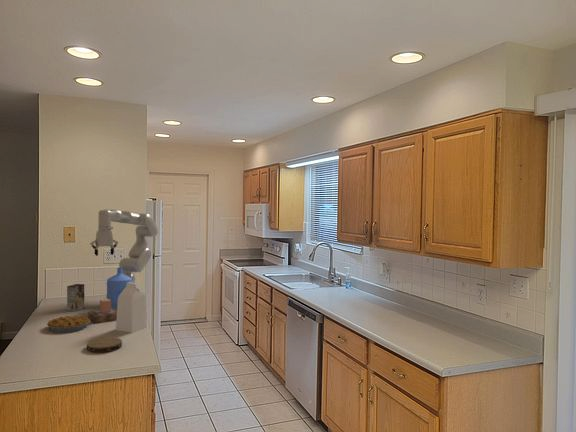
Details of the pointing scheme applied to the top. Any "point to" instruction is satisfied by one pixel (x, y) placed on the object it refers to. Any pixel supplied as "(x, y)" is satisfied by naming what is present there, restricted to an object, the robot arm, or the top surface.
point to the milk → (131, 309)
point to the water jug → (116, 286)
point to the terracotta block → (105, 305)
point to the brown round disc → (104, 345)
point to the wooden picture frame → (102, 316)
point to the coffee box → (75, 297)
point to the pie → (68, 323)
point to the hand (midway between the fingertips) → (104, 255)
